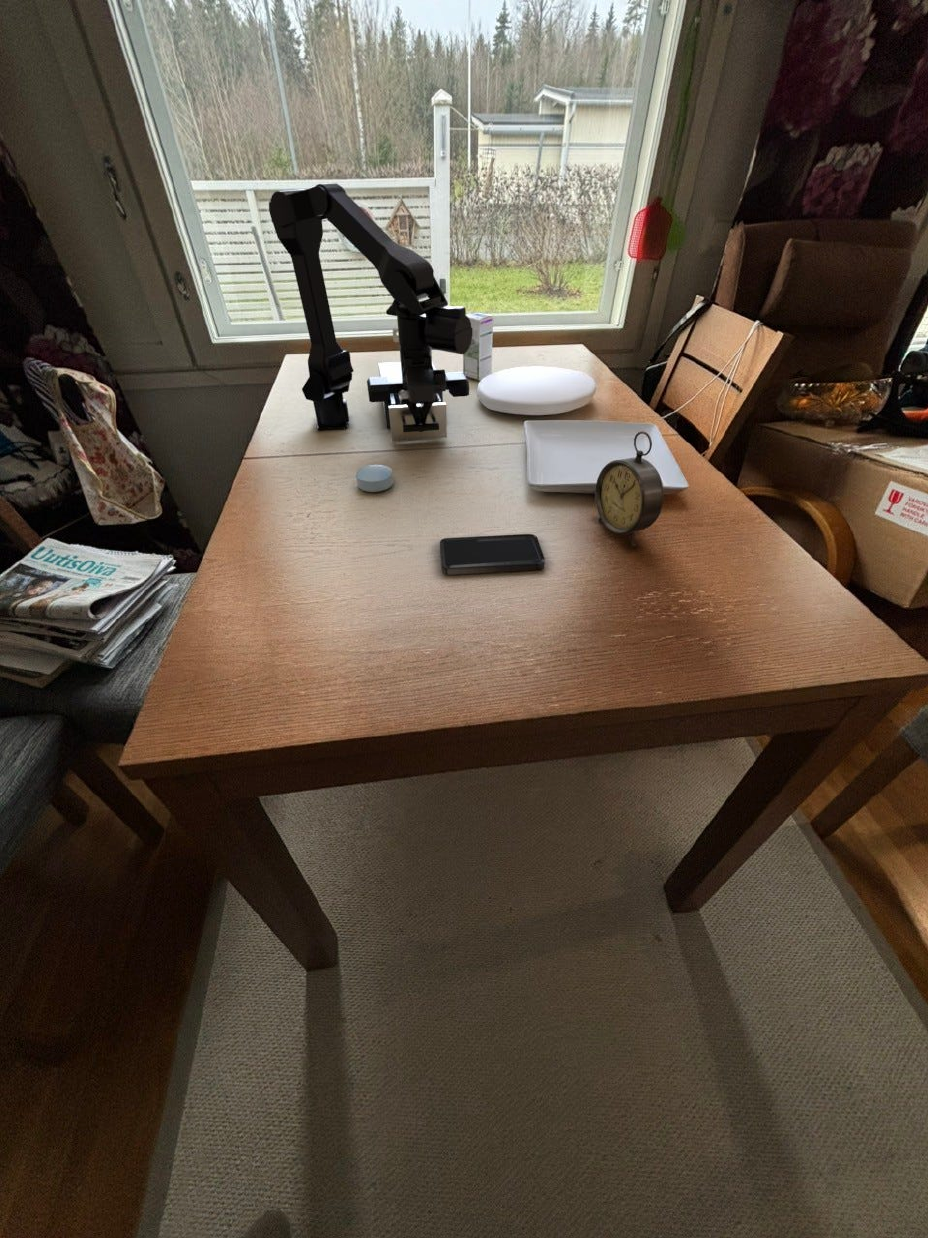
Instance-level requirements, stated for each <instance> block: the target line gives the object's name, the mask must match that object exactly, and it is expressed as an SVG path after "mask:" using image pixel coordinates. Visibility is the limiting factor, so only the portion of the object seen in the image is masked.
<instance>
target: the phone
mask: <svg viewBox="0 0 928 1238" xmlns="http://www.w3.org/2000/svg"><path fill="white" fill-rule="evenodd" d="M439 552H440V564H441V571H442V573H443V574H445V575H447V576H448V575H449V576H451V575H452V576H454V575H470V574H471V575H472V574H489V573H490V574H491V573H508V572H526V571H527V572H528V571H540V570H543V569H544V567H545V563H546V559H545V556H544V553H543V550H542V546H541V544H540V541H539V538H538V536H537V535H535V534H533V533H518V534H500V535H499V534H498V535H496V534H495V535H476V536H459V537H456V536H455V537H444V538H442V539H440V541H439Z"/></svg>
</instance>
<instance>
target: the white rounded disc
mask: <svg viewBox="0 0 928 1238" xmlns="http://www.w3.org/2000/svg"><path fill="white" fill-rule="evenodd" d="M596 389H597V383H596V381H595V379H594V378H593V377H592V376H590V375H588V374H586V373H584V372H581V371H578V370H573V369H569V368H562V367H555V366H554V367H553V366H537V365H535V366H533V365H532V366H518V367H512V368H507V369H502V370H498V371H496V372H493V373H492V374H490V375H488V376H486V377H485V378H483V379H482V380H480V381H479V382H478V385H477V388H476V395H477V396H476V397H477V398H478V401H479V402H480V403H481V404H482V405H483V406H484V407H485V408H487V409H488V410H491V411H495V412H499V413H505V414H506V413H507V414H513V415H526V416H544V415H546V416H549V415H558V414H563V413H569V412H572V411H574V410H577V409H579V408H583V407H585V406H587V405H588V404H589V403H591V402H592V400H593V398H594V397H595V395H596Z"/></svg>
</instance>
